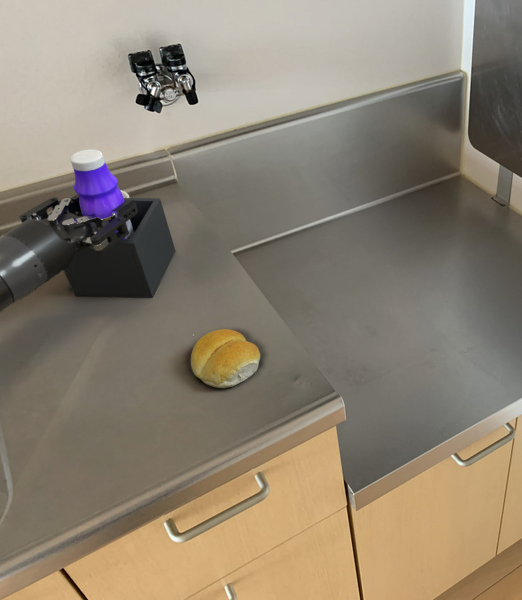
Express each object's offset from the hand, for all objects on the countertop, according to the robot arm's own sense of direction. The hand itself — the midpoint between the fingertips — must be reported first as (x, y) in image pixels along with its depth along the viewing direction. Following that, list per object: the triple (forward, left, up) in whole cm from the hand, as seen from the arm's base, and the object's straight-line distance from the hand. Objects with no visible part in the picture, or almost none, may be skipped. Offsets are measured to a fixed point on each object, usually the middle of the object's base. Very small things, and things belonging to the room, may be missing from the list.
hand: (114, 199), depth 89 cm
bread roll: (+19, -21, -12) cm, 31 cm away
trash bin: (-1, -2, -12) cm, 12 cm away
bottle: (-1, -2, -10) cm, 10 cm away
